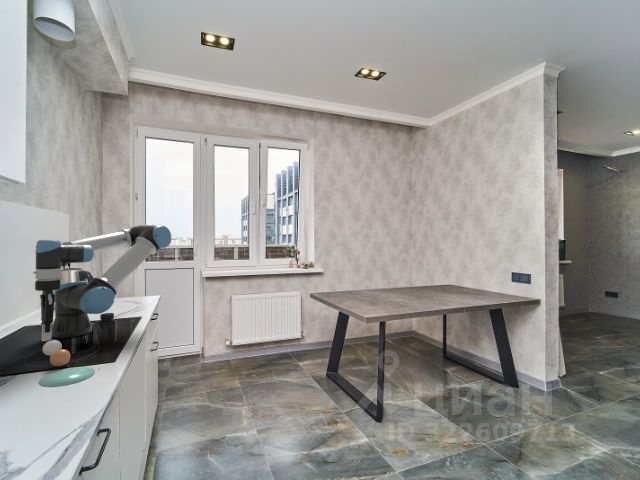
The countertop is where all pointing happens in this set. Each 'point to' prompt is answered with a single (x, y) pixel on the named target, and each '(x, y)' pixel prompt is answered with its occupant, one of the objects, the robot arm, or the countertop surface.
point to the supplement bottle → (107, 329)
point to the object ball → (60, 357)
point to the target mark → (66, 376)
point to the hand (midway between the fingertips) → (46, 340)
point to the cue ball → (51, 347)
